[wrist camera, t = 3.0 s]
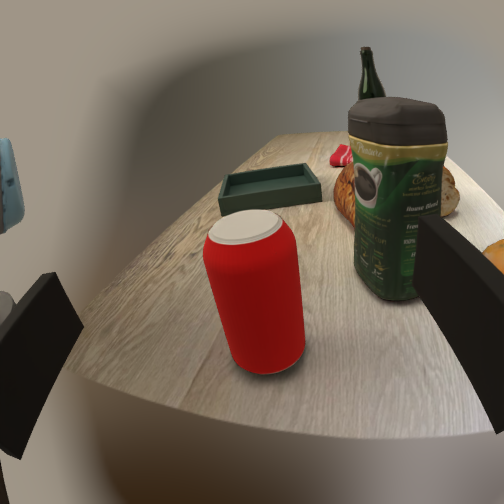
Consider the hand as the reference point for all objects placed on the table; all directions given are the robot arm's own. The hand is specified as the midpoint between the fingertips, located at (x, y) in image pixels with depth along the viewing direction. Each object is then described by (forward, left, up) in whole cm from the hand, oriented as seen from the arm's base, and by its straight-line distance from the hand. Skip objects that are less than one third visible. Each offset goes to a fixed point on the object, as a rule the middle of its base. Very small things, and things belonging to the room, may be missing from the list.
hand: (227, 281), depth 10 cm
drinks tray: (+2, +50, -14) cm, 52 cm away
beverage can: (0, +10, -14) cm, 17 cm away
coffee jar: (+14, +18, -14) cm, 27 cm away
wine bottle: (+42, +96, -14) cm, 105 cm away
